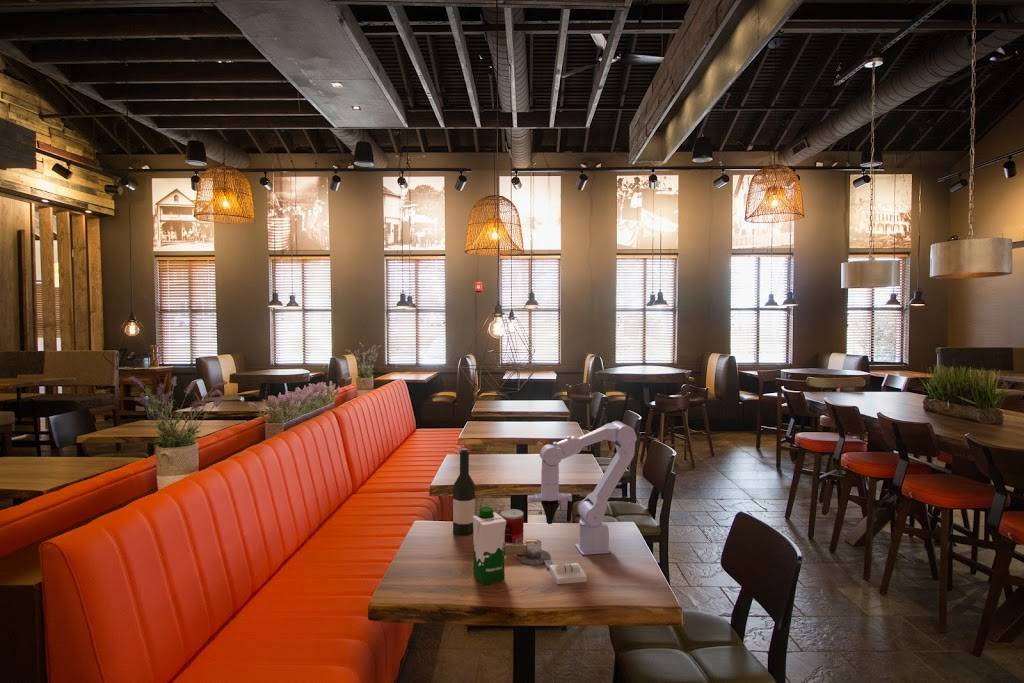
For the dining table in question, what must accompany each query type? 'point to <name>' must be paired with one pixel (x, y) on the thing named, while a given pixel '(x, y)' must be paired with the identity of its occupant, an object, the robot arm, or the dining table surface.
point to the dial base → (536, 560)
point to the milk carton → (488, 546)
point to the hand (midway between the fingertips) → (549, 523)
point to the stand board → (567, 573)
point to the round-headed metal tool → (524, 548)
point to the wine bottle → (463, 498)
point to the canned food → (513, 525)
